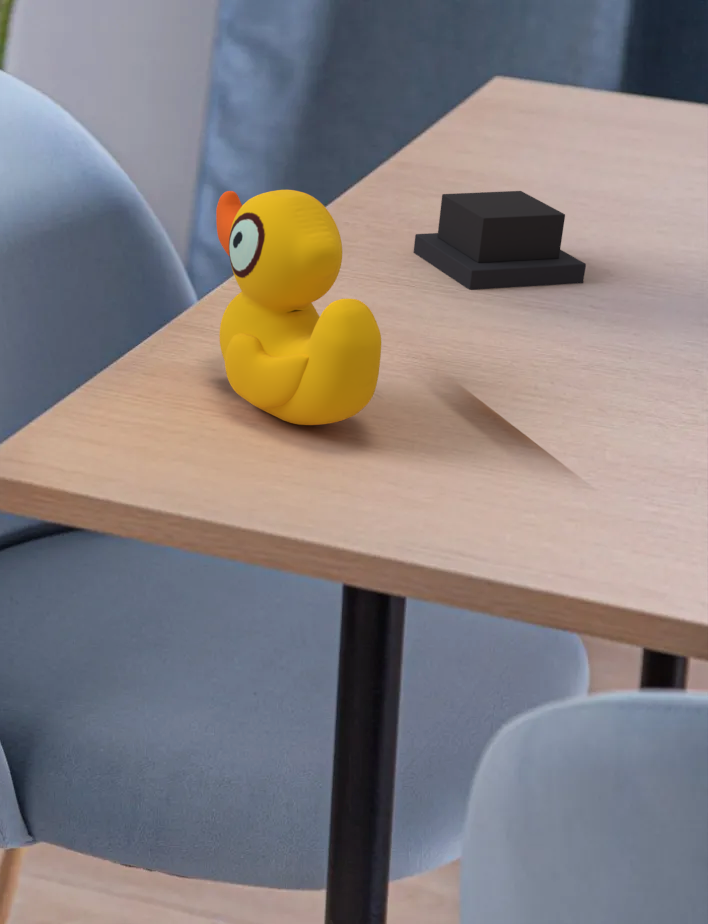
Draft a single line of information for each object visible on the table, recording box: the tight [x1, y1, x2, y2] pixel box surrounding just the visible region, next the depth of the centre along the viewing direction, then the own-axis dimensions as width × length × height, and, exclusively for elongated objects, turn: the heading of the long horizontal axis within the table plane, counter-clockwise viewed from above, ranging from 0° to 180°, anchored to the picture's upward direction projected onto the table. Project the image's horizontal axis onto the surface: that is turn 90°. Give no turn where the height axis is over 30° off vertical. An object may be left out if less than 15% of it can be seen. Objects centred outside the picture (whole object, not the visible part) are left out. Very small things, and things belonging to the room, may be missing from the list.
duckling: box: [215, 189, 382, 426], centre depth 79 cm, size 11×5×10 cm, turn 32°
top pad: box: [437, 190, 566, 263], centre depth 98 cm, size 5×5×2 cm
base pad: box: [413, 232, 587, 291], centre depth 99 cm, size 7×7×2 cm
